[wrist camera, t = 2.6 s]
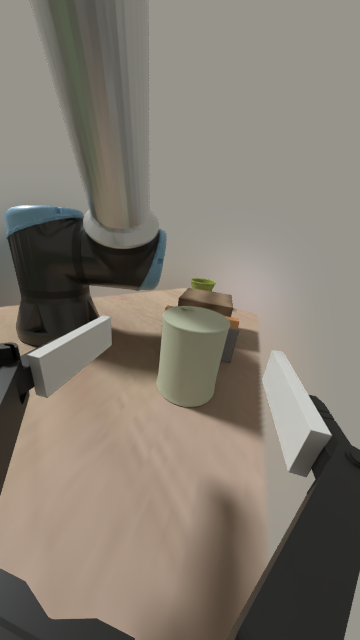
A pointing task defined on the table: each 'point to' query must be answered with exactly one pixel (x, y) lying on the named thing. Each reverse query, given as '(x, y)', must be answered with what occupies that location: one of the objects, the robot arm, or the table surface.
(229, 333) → the hurdle posts
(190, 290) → the walnut stand
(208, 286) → the plant pot
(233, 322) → the terracotta bar
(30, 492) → the table surface
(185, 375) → the can
